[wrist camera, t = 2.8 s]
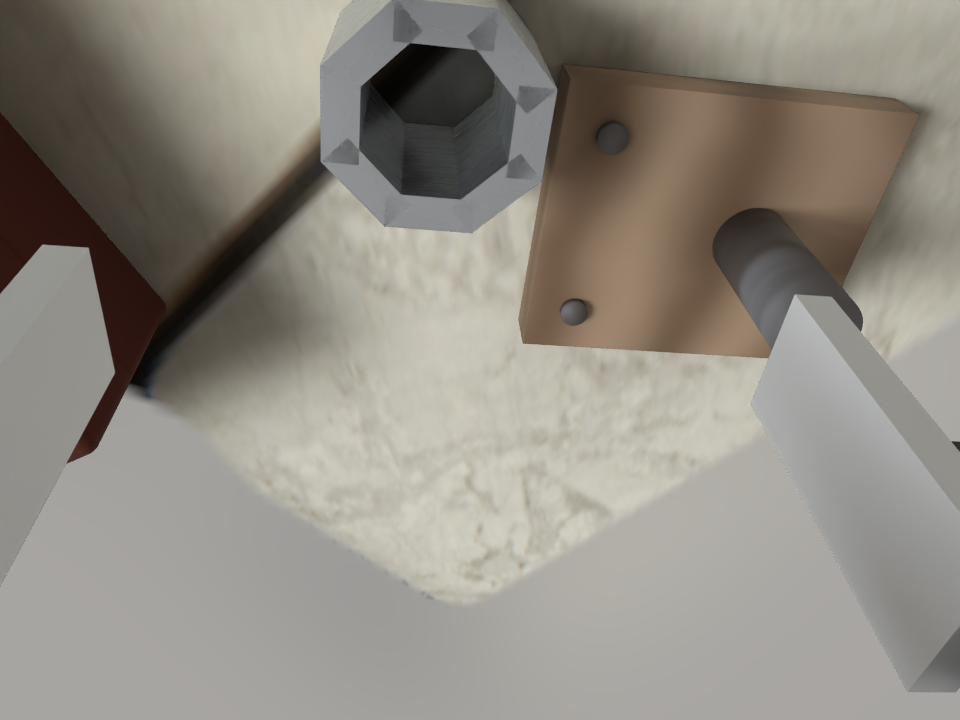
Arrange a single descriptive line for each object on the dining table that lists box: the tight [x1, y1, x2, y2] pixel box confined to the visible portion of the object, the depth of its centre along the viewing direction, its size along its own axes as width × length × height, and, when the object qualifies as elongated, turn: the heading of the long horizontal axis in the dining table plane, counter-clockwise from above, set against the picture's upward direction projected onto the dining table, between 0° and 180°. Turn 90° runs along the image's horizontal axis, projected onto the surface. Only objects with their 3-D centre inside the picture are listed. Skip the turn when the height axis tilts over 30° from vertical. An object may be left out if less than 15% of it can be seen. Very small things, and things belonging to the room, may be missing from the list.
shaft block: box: [519, 64, 919, 358], centre depth 31 cm, size 14×12×9 cm
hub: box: [320, 0, 558, 233], centre depth 27 cm, size 7×7×7 cm
